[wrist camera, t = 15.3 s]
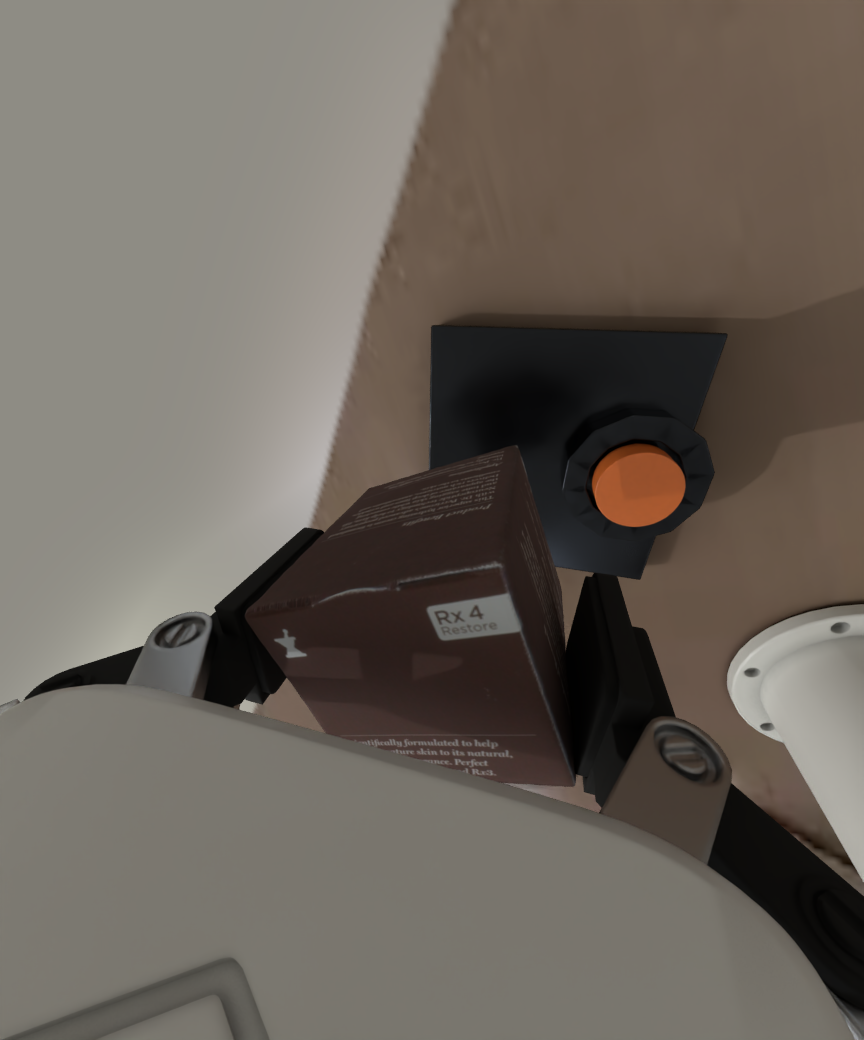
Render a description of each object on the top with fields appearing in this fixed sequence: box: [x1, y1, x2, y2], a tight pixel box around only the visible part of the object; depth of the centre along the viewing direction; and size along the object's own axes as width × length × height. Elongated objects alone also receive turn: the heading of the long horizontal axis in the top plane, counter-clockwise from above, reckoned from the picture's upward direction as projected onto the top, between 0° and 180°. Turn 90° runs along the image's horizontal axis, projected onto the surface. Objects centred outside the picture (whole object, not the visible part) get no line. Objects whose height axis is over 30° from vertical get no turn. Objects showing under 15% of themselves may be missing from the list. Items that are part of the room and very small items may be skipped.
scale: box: [429, 325, 727, 580], centre depth 22 cm, size 15×14×3 cm
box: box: [245, 445, 576, 787], centre depth 11 cm, size 6×6×7 cm
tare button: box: [592, 444, 685, 527], centre depth 19 cm, size 4×4×2 cm
